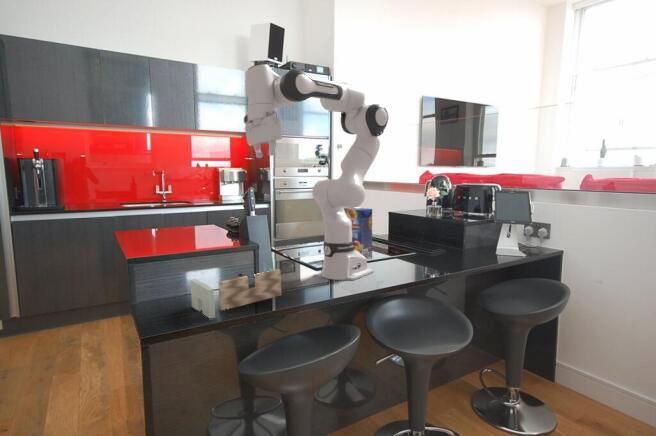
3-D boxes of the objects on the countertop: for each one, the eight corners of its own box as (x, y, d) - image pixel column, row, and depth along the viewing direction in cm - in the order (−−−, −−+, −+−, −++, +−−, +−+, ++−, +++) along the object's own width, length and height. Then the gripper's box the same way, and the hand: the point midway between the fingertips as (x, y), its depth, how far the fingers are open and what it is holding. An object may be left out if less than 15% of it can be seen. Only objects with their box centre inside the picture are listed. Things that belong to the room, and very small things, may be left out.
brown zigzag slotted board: (278, 293, 135) (278, 269, 134) (281, 295, 134) (280, 269, 133) (220, 309, 121) (218, 281, 120) (222, 310, 120) (220, 282, 119)
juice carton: (372, 258, 185) (372, 208, 182) (361, 261, 180) (361, 210, 177) (354, 254, 194) (354, 207, 191) (343, 256, 189) (343, 208, 186)
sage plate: (196, 305, 125) (195, 278, 123) (215, 318, 114) (213, 289, 113) (191, 306, 124) (190, 279, 122) (210, 319, 113) (208, 290, 112)
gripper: (285, 109, 122) (288, 153, 123) (257, 120, 139) (261, 158, 140) (266, 108, 119) (270, 154, 120) (241, 119, 135) (245, 159, 137)
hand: (265, 156), depth 130 cm, fingers open, 8 cm apart
